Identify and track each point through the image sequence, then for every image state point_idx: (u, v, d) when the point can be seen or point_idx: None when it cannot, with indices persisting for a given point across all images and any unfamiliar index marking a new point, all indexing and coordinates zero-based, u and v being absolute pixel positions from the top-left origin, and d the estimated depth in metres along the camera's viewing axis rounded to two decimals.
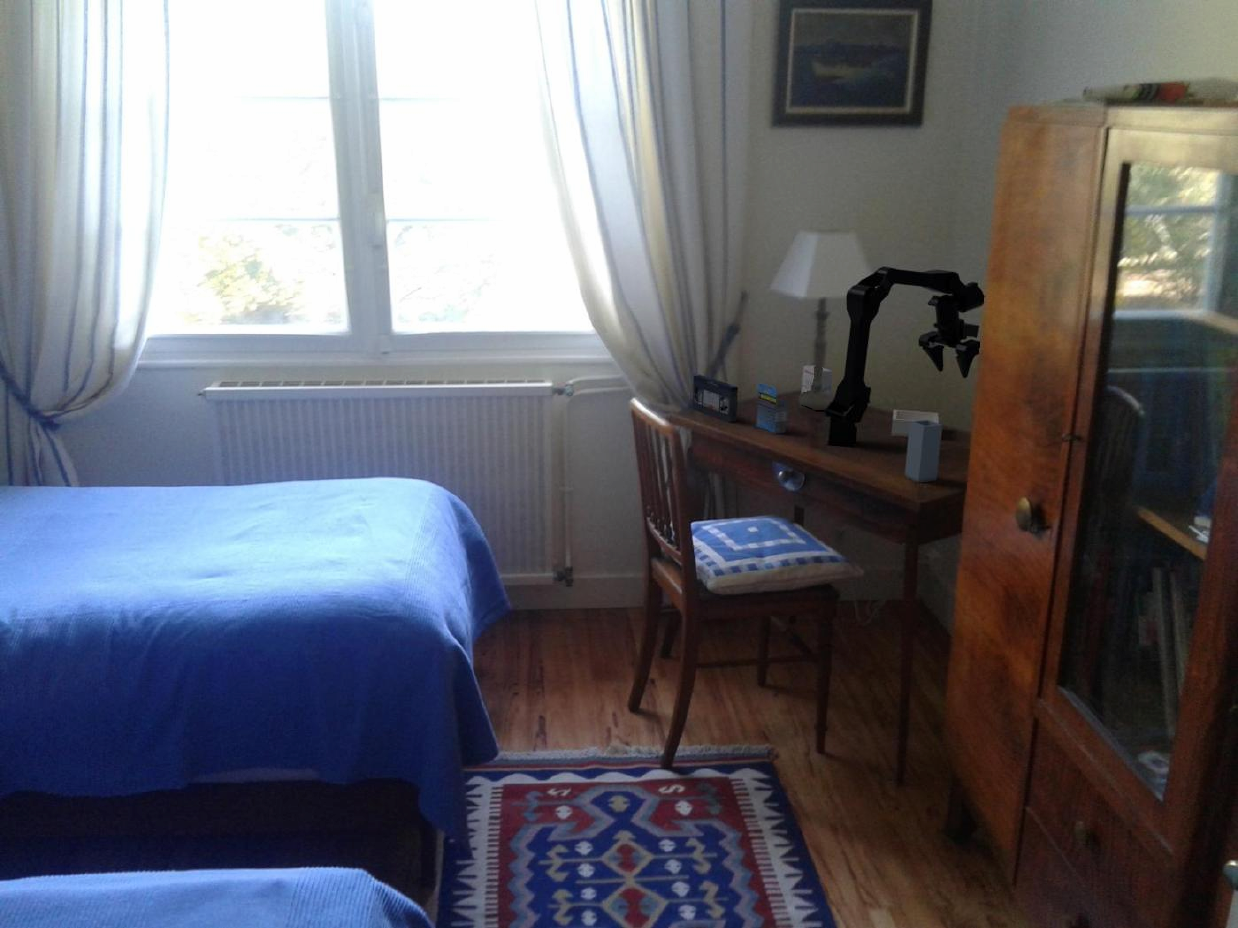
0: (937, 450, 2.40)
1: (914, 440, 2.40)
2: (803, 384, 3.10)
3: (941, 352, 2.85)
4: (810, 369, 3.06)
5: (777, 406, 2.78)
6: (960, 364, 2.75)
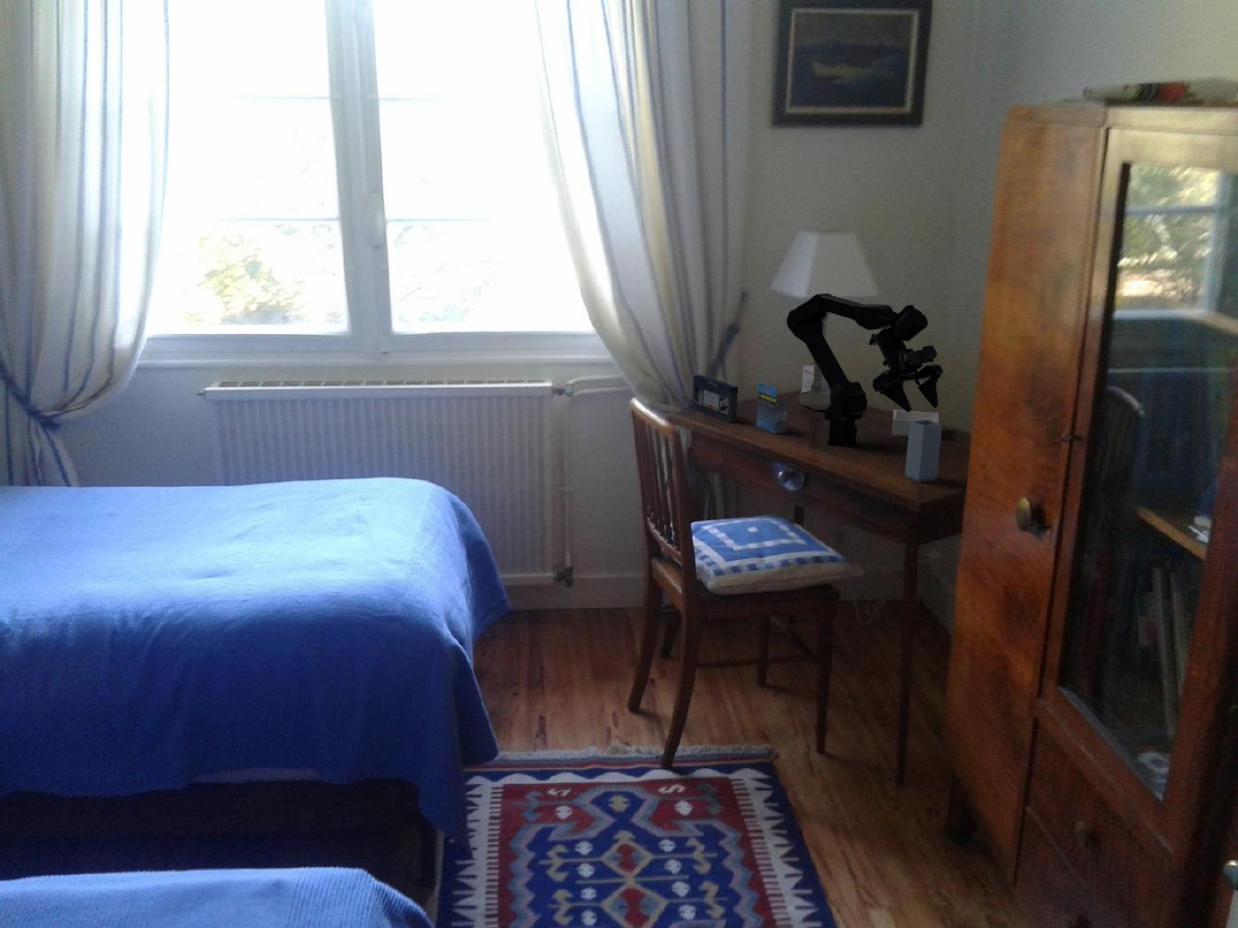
0: (937, 450, 2.40)
1: (914, 440, 2.40)
2: (803, 384, 3.10)
3: (930, 386, 2.52)
4: (810, 369, 3.06)
5: (777, 406, 2.78)
6: None
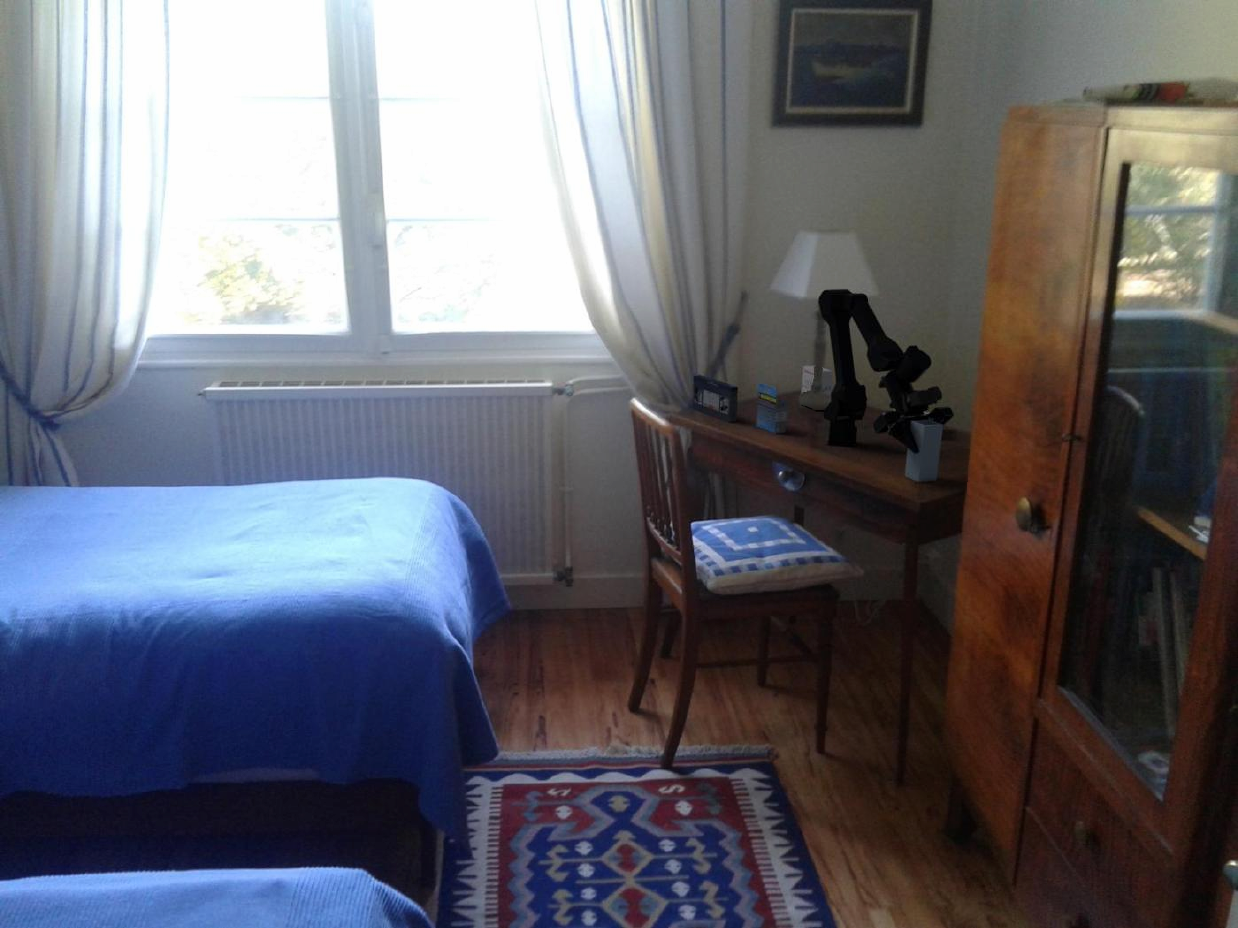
0: (937, 450, 2.40)
1: (915, 440, 2.40)
2: (803, 384, 3.10)
3: None
4: (810, 369, 3.06)
5: (777, 406, 2.78)
6: None
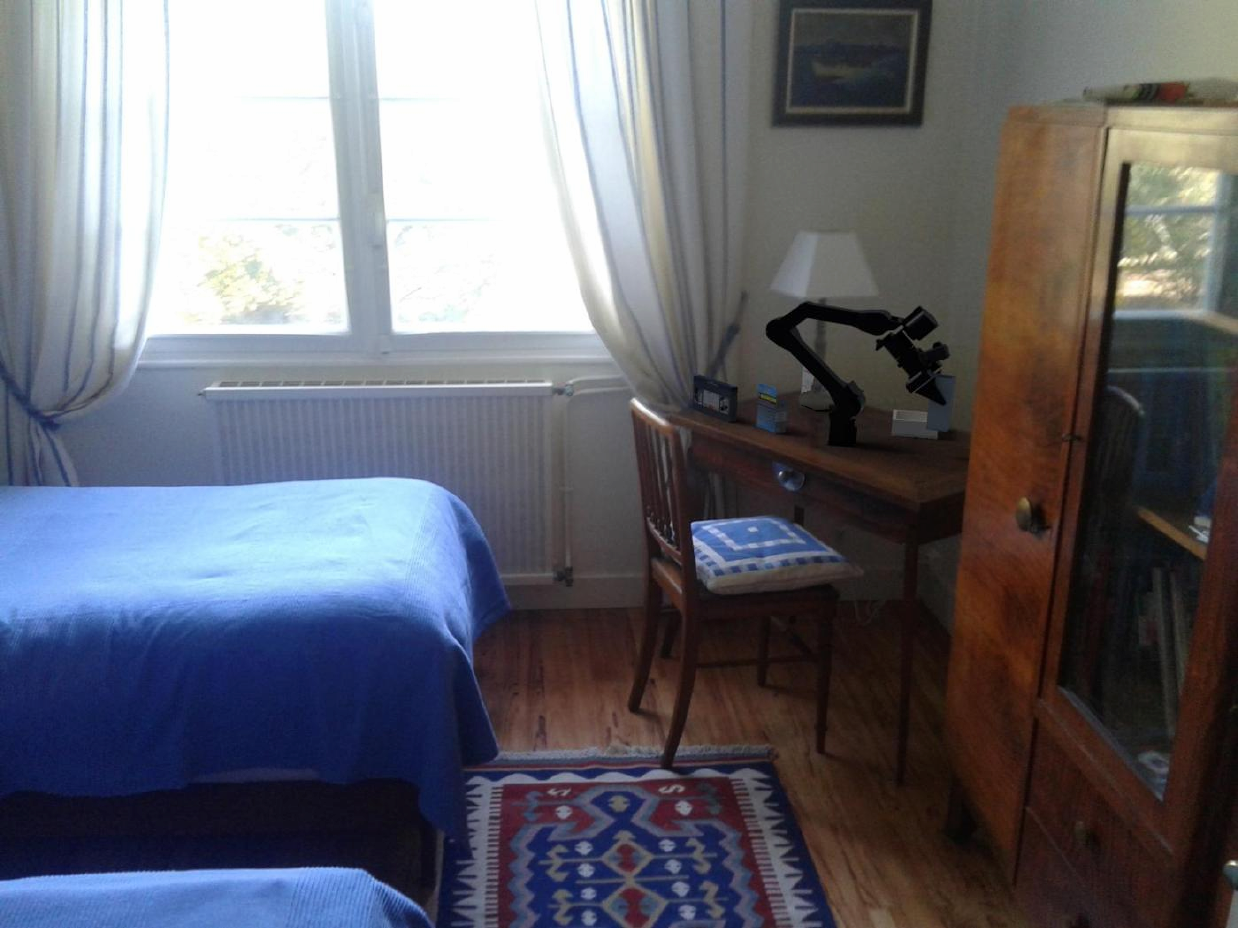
0: None
1: None
2: (803, 384, 3.10)
3: None
4: None
5: (777, 406, 2.78)
6: None
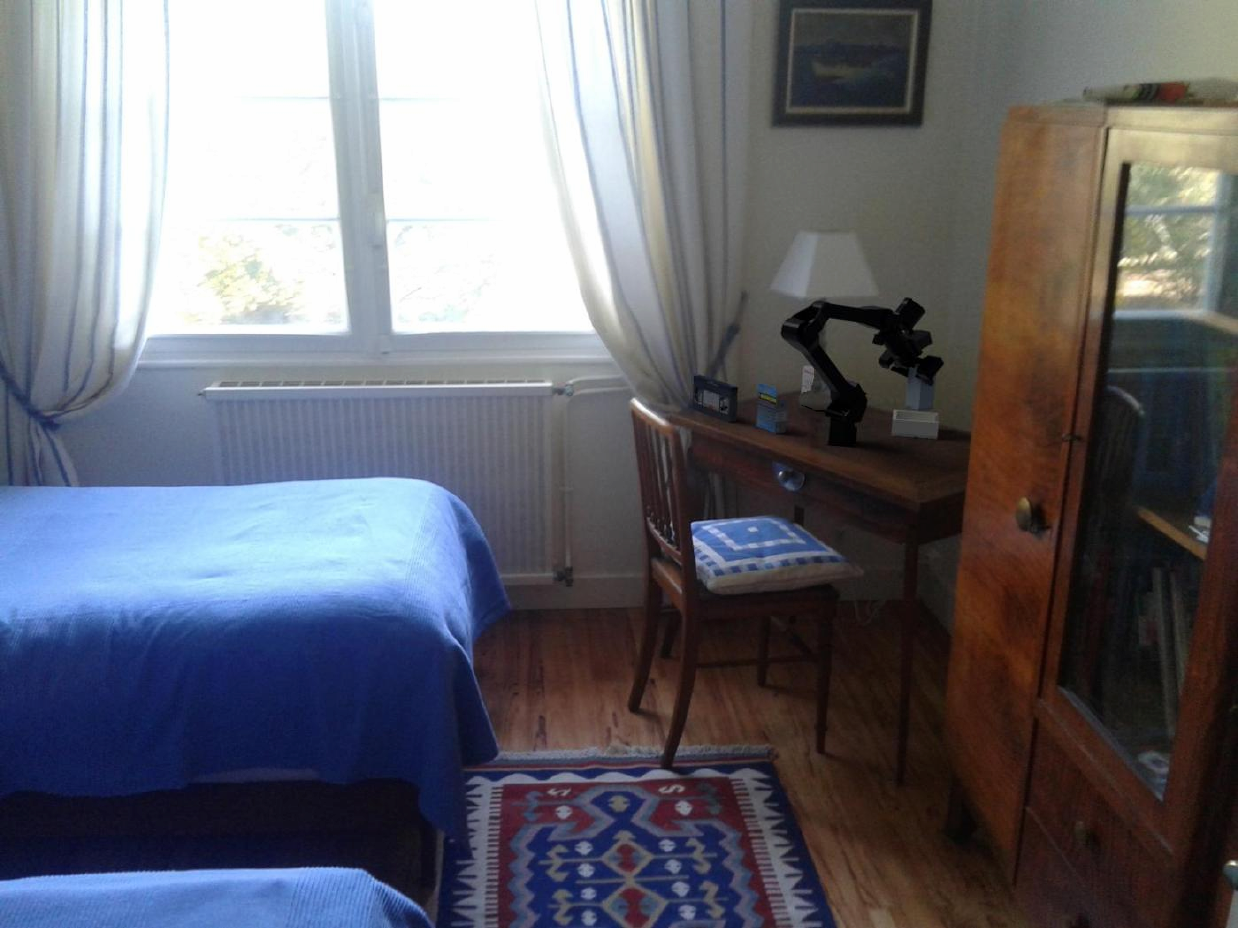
0: None
1: None
2: (803, 384, 3.10)
3: None
4: (810, 369, 3.06)
5: (777, 406, 2.78)
6: (922, 380, 2.75)
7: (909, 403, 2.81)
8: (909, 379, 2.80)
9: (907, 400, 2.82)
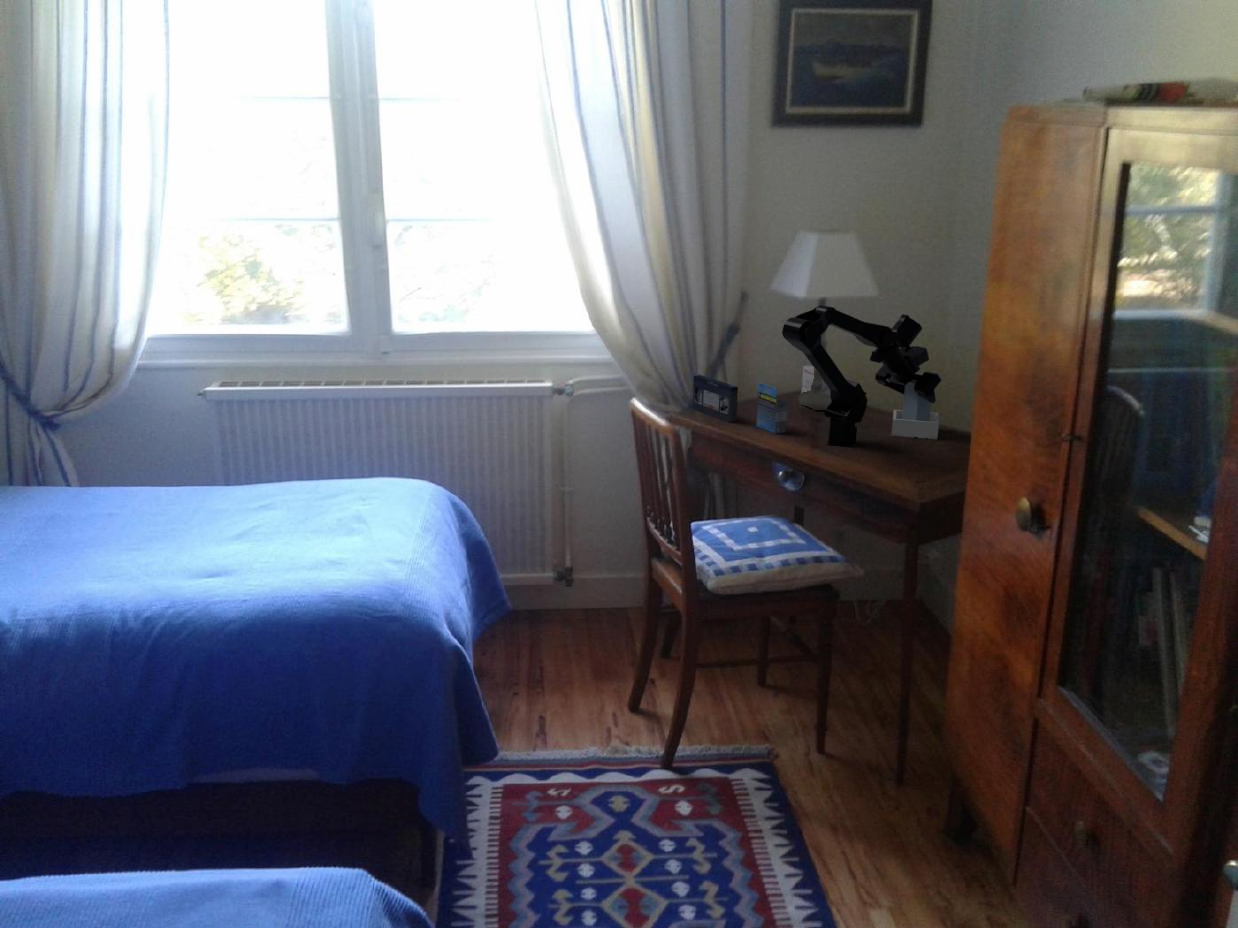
0: None
1: None
2: (803, 384, 3.10)
3: None
4: (810, 369, 3.06)
5: (777, 406, 2.78)
6: (924, 398, 2.75)
7: None
8: (905, 401, 2.83)
9: None
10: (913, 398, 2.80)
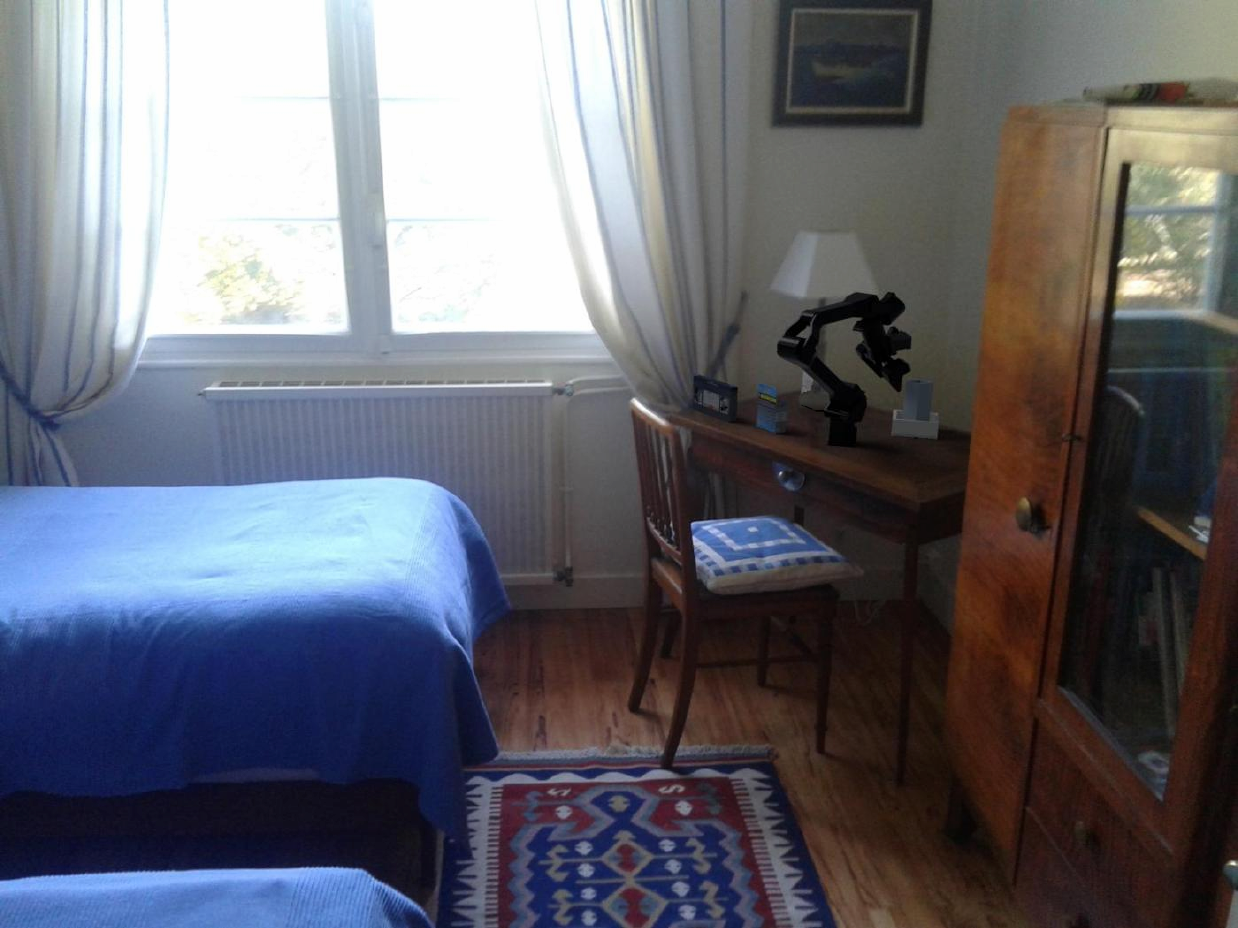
0: None
1: (924, 398, 2.80)
2: (803, 384, 3.10)
3: None
4: None
5: (777, 406, 2.78)
6: (889, 383, 2.71)
7: None
8: (905, 401, 2.83)
9: None
10: (913, 398, 2.80)
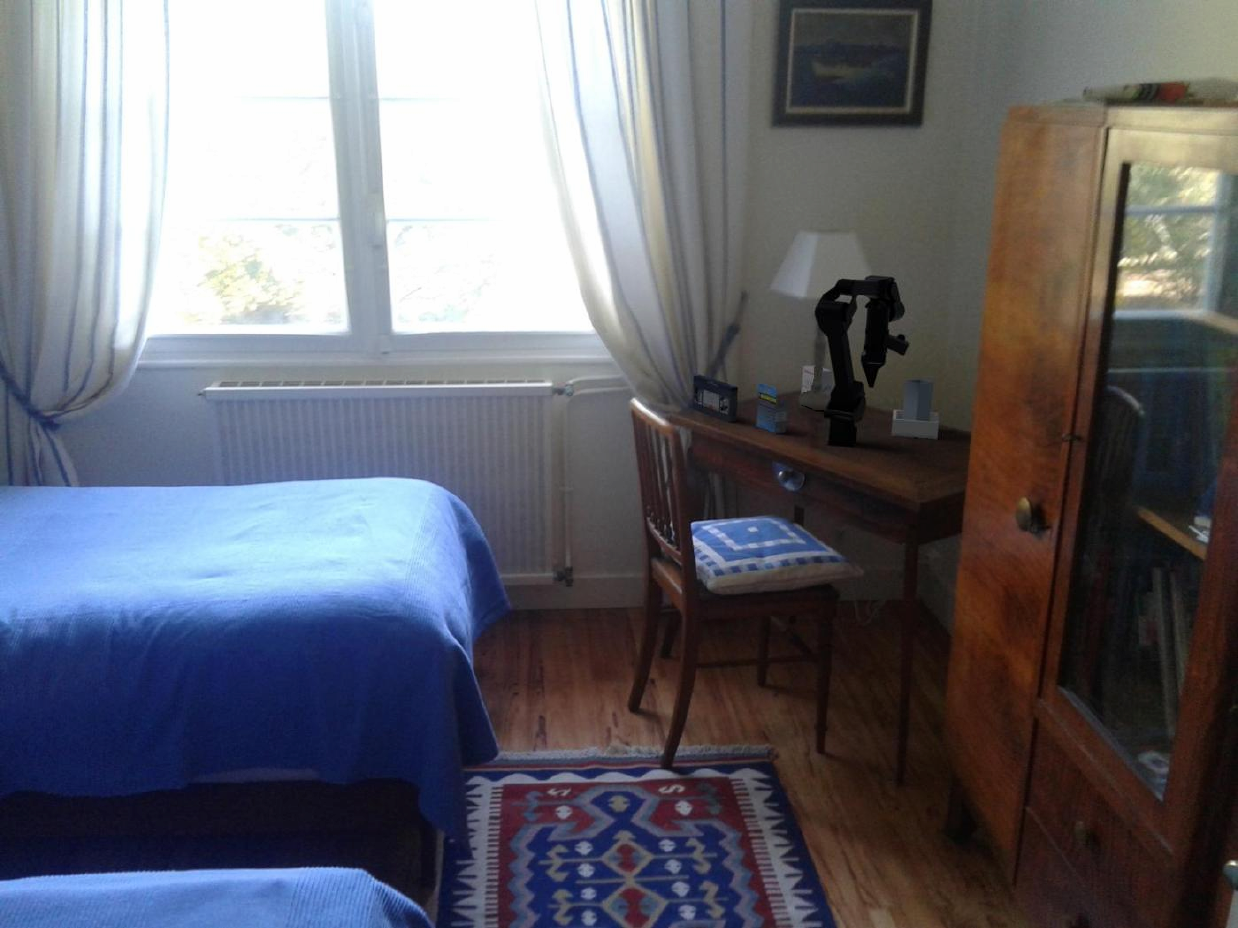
0: None
1: (924, 398, 2.80)
2: (803, 384, 3.10)
3: None
4: (810, 369, 3.06)
5: (777, 406, 2.78)
6: None
7: None
8: (905, 401, 2.83)
9: None
10: (913, 398, 2.80)
